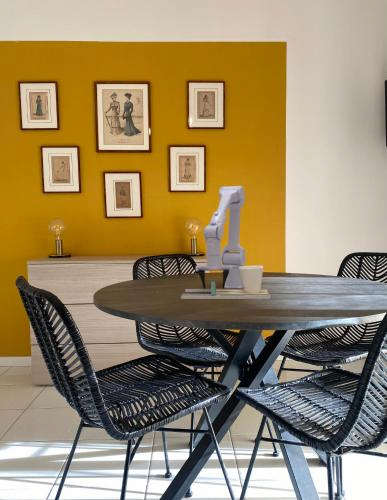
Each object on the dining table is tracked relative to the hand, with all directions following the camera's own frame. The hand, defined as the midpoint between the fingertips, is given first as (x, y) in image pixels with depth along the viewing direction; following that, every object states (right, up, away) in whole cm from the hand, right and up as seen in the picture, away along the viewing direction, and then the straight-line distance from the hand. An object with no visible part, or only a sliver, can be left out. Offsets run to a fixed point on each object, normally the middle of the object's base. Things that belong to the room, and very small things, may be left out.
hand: (213, 288), depth 202 cm
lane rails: (+5, -2, -2) cm, 6 cm away
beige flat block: (+10, -2, -1) cm, 10 cm away
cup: (+15, -2, -1) cm, 16 cm away
